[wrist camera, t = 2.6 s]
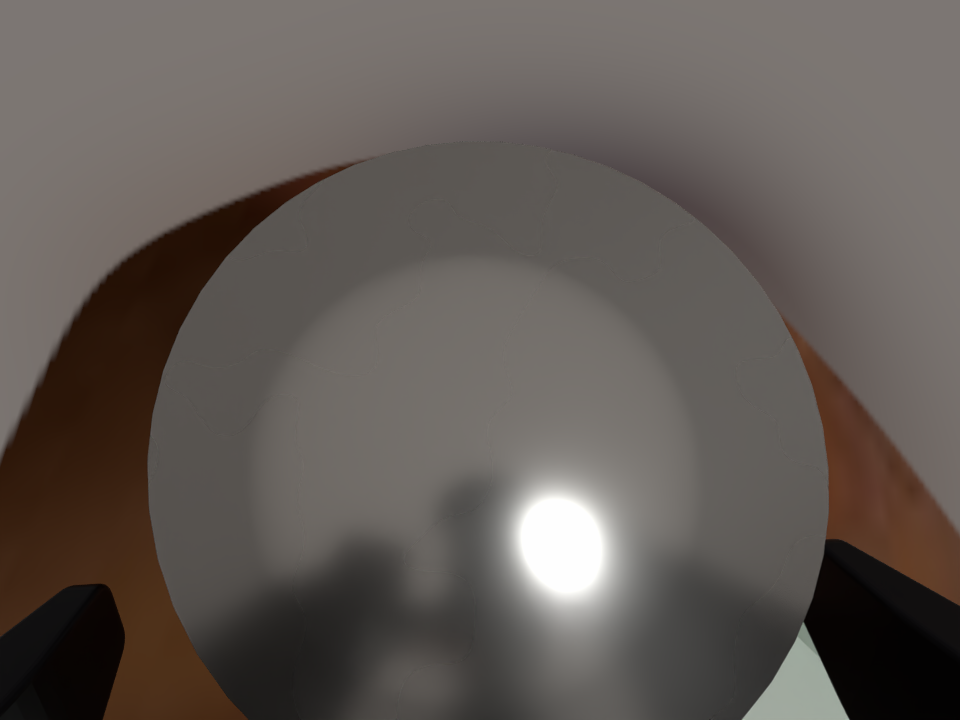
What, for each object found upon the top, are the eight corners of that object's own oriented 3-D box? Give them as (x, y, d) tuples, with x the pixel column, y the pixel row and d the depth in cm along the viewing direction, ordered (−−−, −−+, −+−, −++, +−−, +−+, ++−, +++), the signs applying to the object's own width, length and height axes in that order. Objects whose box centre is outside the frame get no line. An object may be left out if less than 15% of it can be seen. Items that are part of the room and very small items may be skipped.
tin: (440, 688, 16) (519, 1066, 4) (289, 518, 17) (-17, 411, 5) (589, 519, 17) (949, 428, 6) (444, 375, 18) (498, 45, 7)
